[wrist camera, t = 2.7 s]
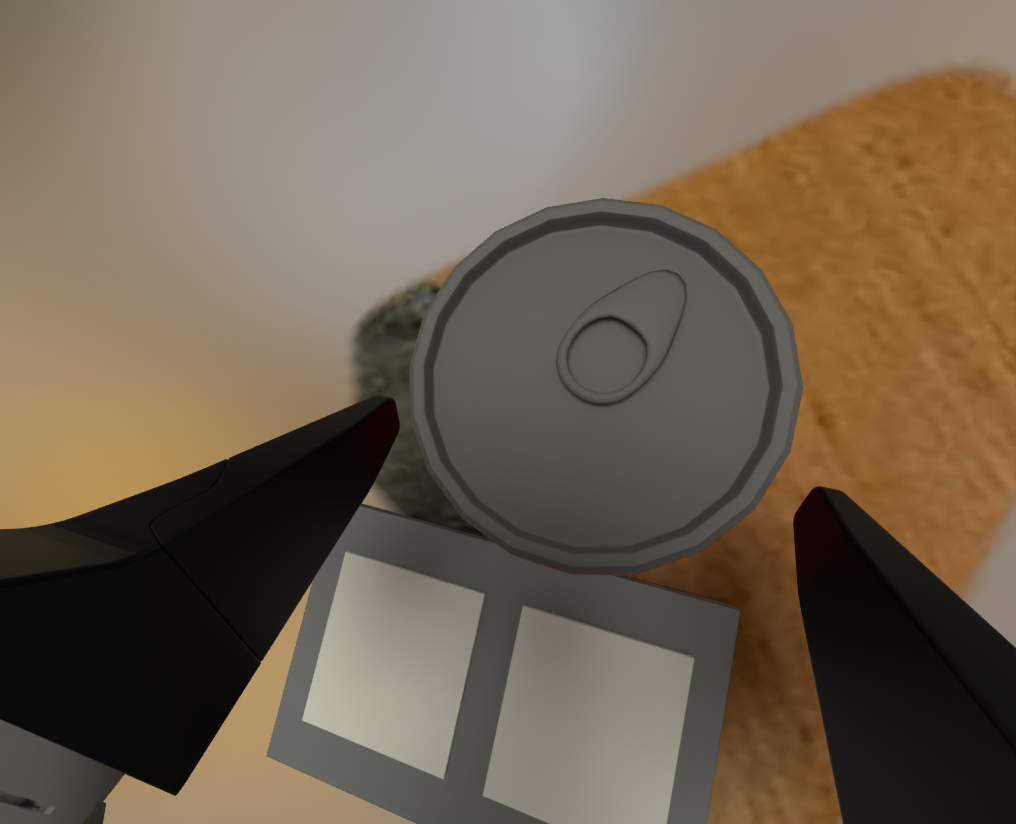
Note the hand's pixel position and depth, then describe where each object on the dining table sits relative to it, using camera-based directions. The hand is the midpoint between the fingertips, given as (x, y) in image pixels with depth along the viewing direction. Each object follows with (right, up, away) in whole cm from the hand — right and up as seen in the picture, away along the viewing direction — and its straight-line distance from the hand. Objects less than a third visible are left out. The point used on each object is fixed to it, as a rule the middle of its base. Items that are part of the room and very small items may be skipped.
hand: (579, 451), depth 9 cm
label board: (-2, -10, +8) cm, 13 cm away
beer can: (+2, 0, +9) cm, 9 cm away
